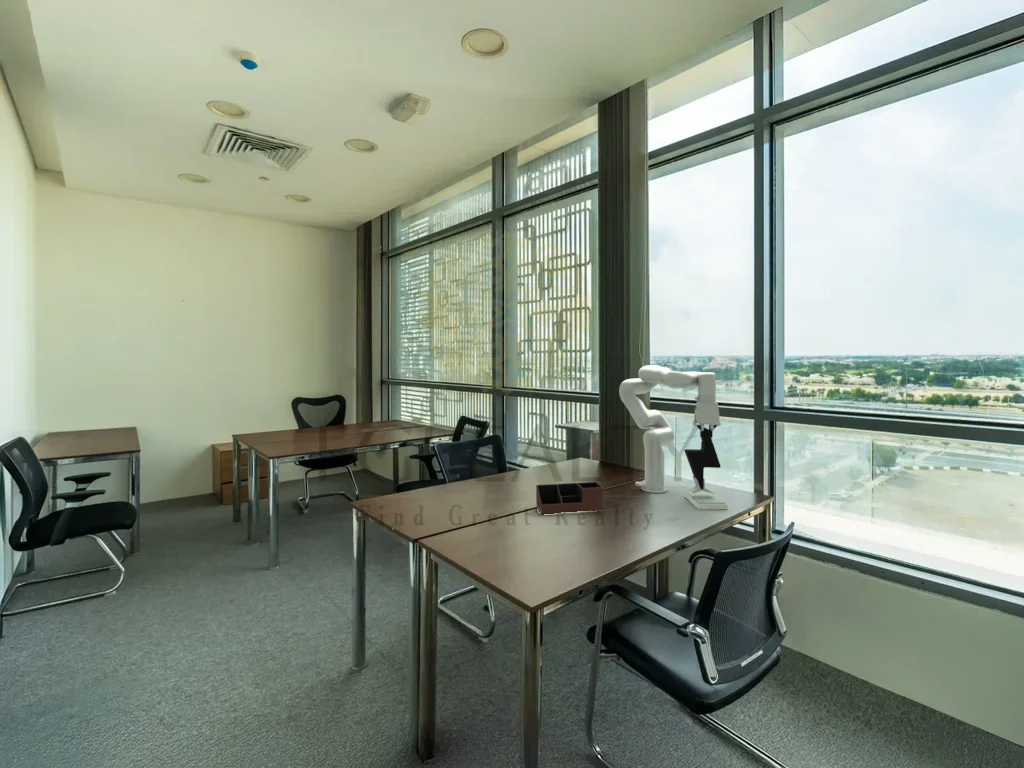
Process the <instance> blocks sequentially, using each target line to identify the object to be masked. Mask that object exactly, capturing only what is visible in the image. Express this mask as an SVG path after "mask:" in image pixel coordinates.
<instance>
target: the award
mask: <svg viewBox="0 0 1024 768" xmlns="http://www.w3.org/2000/svg"><path fill="white" fill-rule="evenodd" d="M704 431H705V439H704V440H703V439H701V438H700V439H701V443H700V444H701V445H700V449H698V448H697V449H693V448H692V449H689V448H687V449H686V448H685V449H684V454H685V456H686V459H687V462H688V465H689V467H690V469H691V472H692V479H693V481H694V484H695V485H694V486H693V487H691V488H689V489H688V491H689V492H690V493H691V494H693V493H696V492H700V491H705V492H709V493H713V494H716V493H715V492H713V491H712V490H711V489H708V488H707V487H706V486H705V485H706V481H705V480H706V479H705V478H704V475H705V474H704V471H705V470H704V469H705V468H708V469H709V468H710V469H711V468H714V469H715V468H716V469H718V468H719V469H720V468H721V463H720V461H719V458H718V457H719V456H718V454H717V452H716V448H715V445H714V442H713V439H711V436H710V433H709V428H707V427H706V426H704Z"/></svg>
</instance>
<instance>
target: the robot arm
mask: <svg viewBox="0 0 1024 768" xmlns="http://www.w3.org/2000/svg"><path fill="white" fill-rule="evenodd" d="M658 384H659V385H664V386H668V387H673V388H678V389H690V388H691V389H692V388H697V396H694V399H695V401H696V403H695V408H694V416H693V417H694V418H693V420H692V426H694V427H696V428H697V429H699V436H700V439H703V440H704V439H705V431H704V427H705V425H708V430H709V433H710V436H711V439H712V438H713V437H714V436H713V432H714V430H715V429H716V428H717V427H719V426H721V421H720V410H719V409H720V408H719V403H718V402H717V401H716V395H717V392H716V390H717V386H716V385H717V375H716V373H715V372H710V371H709V372H707V371H706V372H705V371H703V372H701V371H677V370H672V369H671V368H669V367H667V366H666V367H665V366H661V365H658V364H655V365H653V364H652V365H650V364H649V365H643V366H642V367H641V368H639V370H638V377H637V378H628V379H625V380H623V381H621V383H620V385H619V388H618V391H619V393H618V394H619V398H620V399H621V402H622V403H623V404H624V406H625V407H626V409H627V410H628V413H629V414H630V416H631V418H633V421H634V422H635V424H636V425H637V427H638V428H639V429H642V430H646V431H645V432H644V434H643V436H642V441H643V448H644V479H643V480H641V481H635V486H638V487H641V490H642V491H644V492H646V493H652V494H663V493H666V492H668V487H666V486H665V453H664V450H663V447H664V446H668V445H672V443H674V441H675V433H674V430H673V429H672V427H671V425H670V424H669V422H668V421H667V419H666V417H665V416H664V414H662V412H660V411H659V410H658V409H657V410H656V409H648V408H647V407H646V406H645V404H644V402H643V400H641V399H640V398H639V397H637V395H645V394H647V393H649V392H650V391H652V389H654V388H655V387H656V386H657V385H658ZM712 440H713V439H712Z"/></svg>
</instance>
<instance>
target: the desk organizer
mask: <svg viewBox="0 0 1024 768" xmlns="http://www.w3.org/2000/svg"><path fill="white" fill-rule="evenodd" d="M604 489H605V488H604V486H603V485H601V484H600V483H598V481H588V482H570V483H569V482H568V483H549V484H536V488H535V491H536V495H535V496H536V498H535V499H536V501H535V502H536V505H535V506H536V507H537V509H538V511H539V512H540V514H541V515H544V514H554V513H561V512H577V511H590V510H591V511H595V510H597V511H598V510H604V499H605V497H604Z"/></svg>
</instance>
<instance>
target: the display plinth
mask: <svg viewBox="0 0 1024 768" xmlns="http://www.w3.org/2000/svg"><path fill="white" fill-rule="evenodd" d="M713 493H714V492H713ZM713 493H709V492H705V491H700V492H696V493H693V494H691V493H690V492H689V491H685V492H684V498H685V497H686V498H687V499H688V500H689V501H688V500H687V499H686V500H687V501H688V502H689V503H690V504H691V505H693V504H694V505H695V506H696V507H697V508H698V509H697V508H696V507H695V506H694V505H693V506H694V507H695V508H696V509H697V510H708V509H717V510H718V509H729V507H728V505H729V504H728V503H727V502H726V501H725V500H723V499H722V498H721V497H720V496H718V495H717V494H716V493H715V494H713ZM718 511H719V510H718Z"/></svg>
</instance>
